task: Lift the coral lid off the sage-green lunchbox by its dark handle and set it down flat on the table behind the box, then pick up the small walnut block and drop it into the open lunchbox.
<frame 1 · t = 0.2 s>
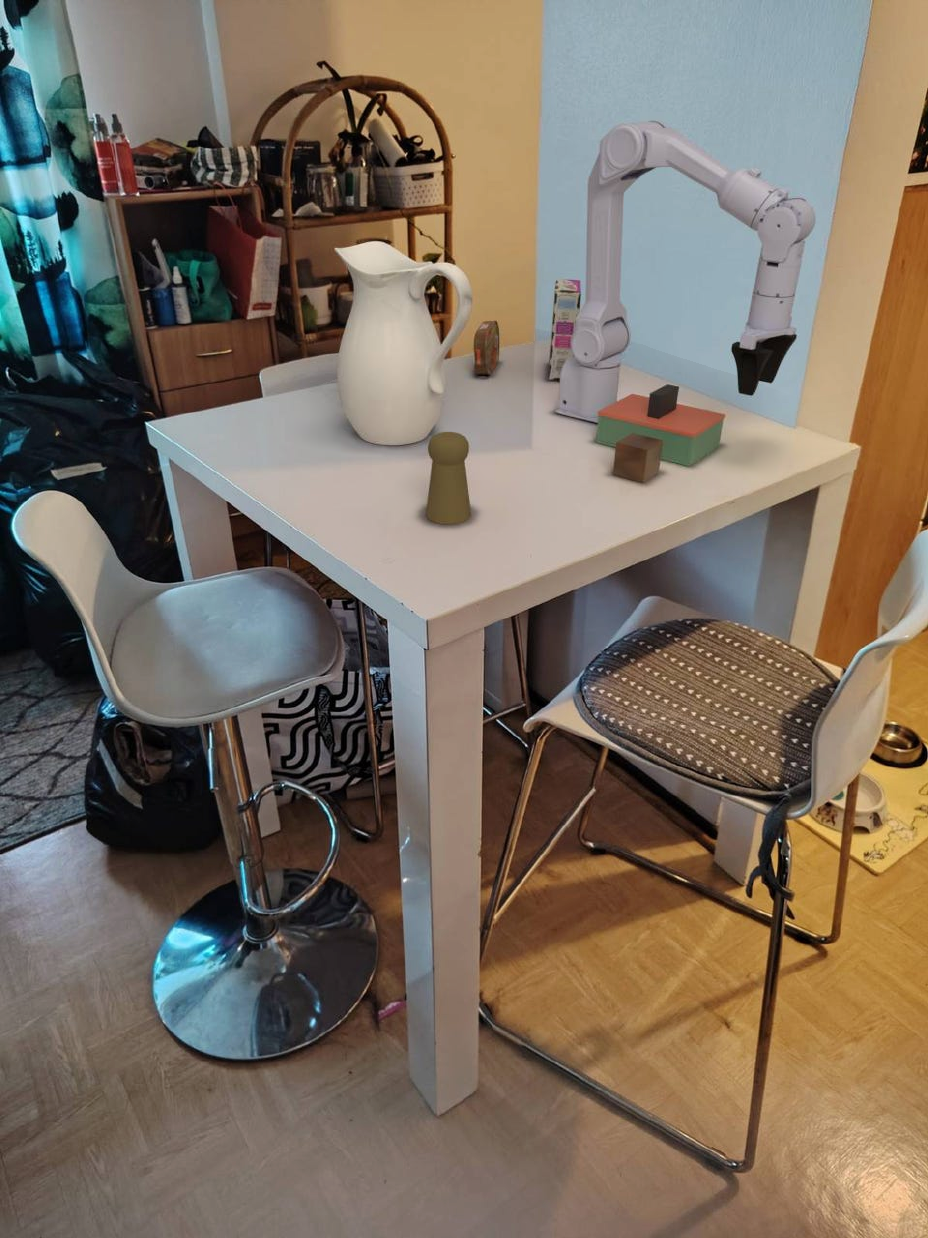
hand: (755, 387, 133), 10 cm above the table, tool pointing down, fingers open, 7 cm apart
candy bar box: (561, 374, 173), on the table
walnut block: (635, 473, 131), on the table
lunchbox: (657, 443, 141), on the table
olive pawn figure: (448, 515, 118), on the table
pitcher: (408, 440, 142), on the table
lunchbox lid: (661, 416, 139), point 4 cm above the table, touching lunchbox
tin: (486, 369, 175), on the table
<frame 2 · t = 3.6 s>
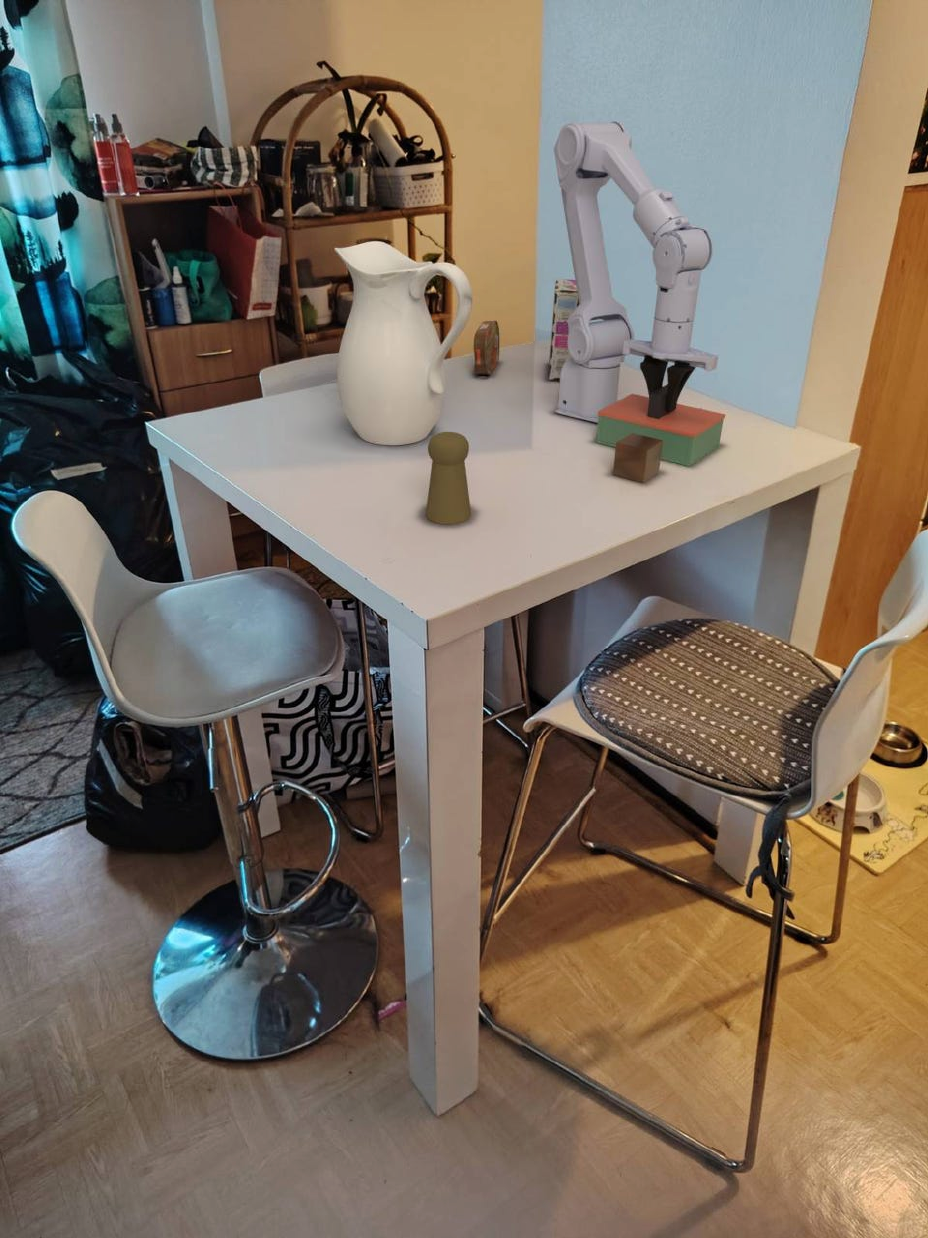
hand: (662, 408, 138), 6 cm above the table, tool pointing down, fingers closed on lunchbox lid, 2 cm apart
lunchbox lid: (661, 416, 139), point 4 cm above the table, touching gripper, lunchbox
everything else where it was.
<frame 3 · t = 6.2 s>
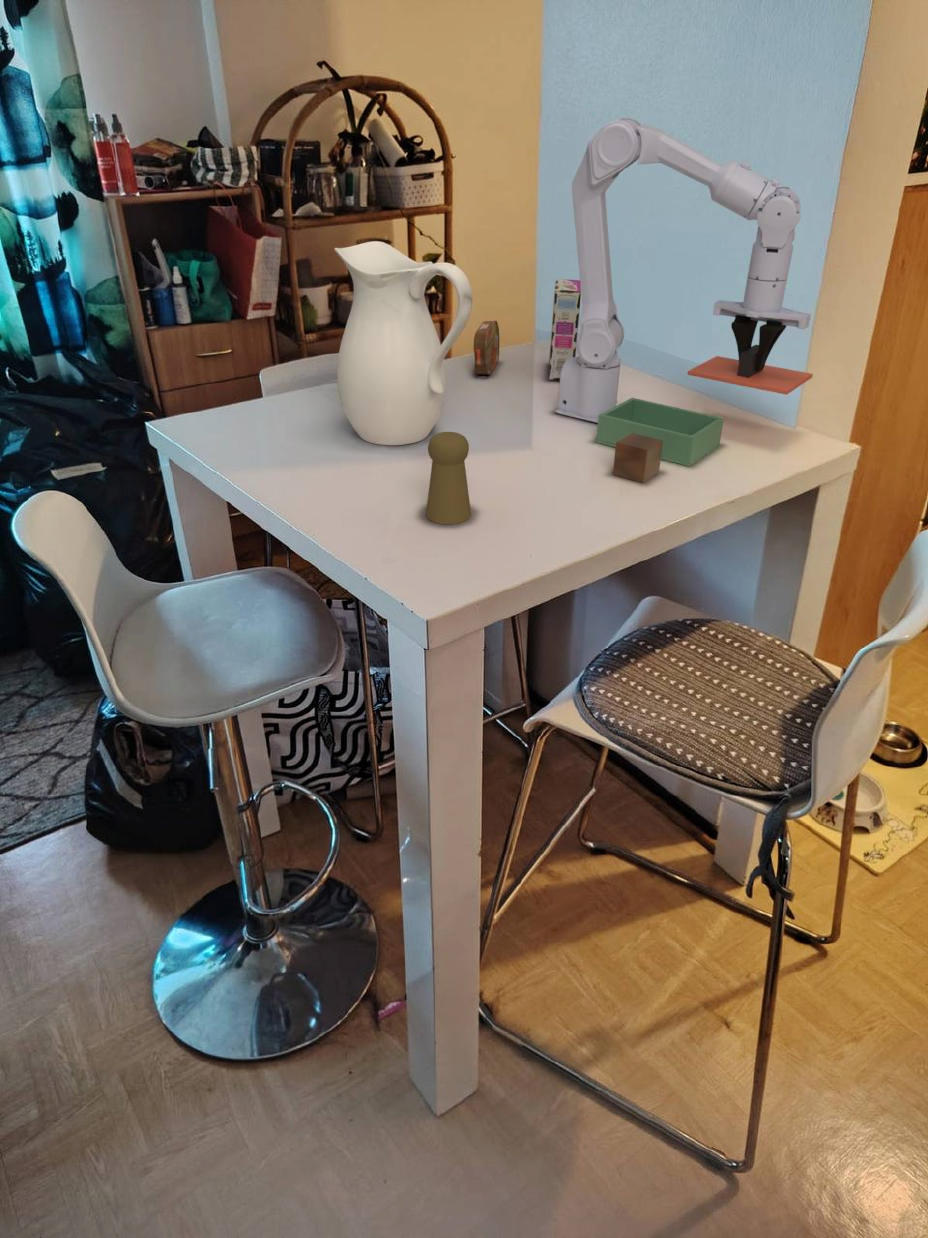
hand: (751, 367, 141), 10 cm above the table, tool pointing down, fingers closed on lunchbox lid
lunchbox lid: (749, 376, 142), point 9 cm above the table, touching gripper
everything else where it was.
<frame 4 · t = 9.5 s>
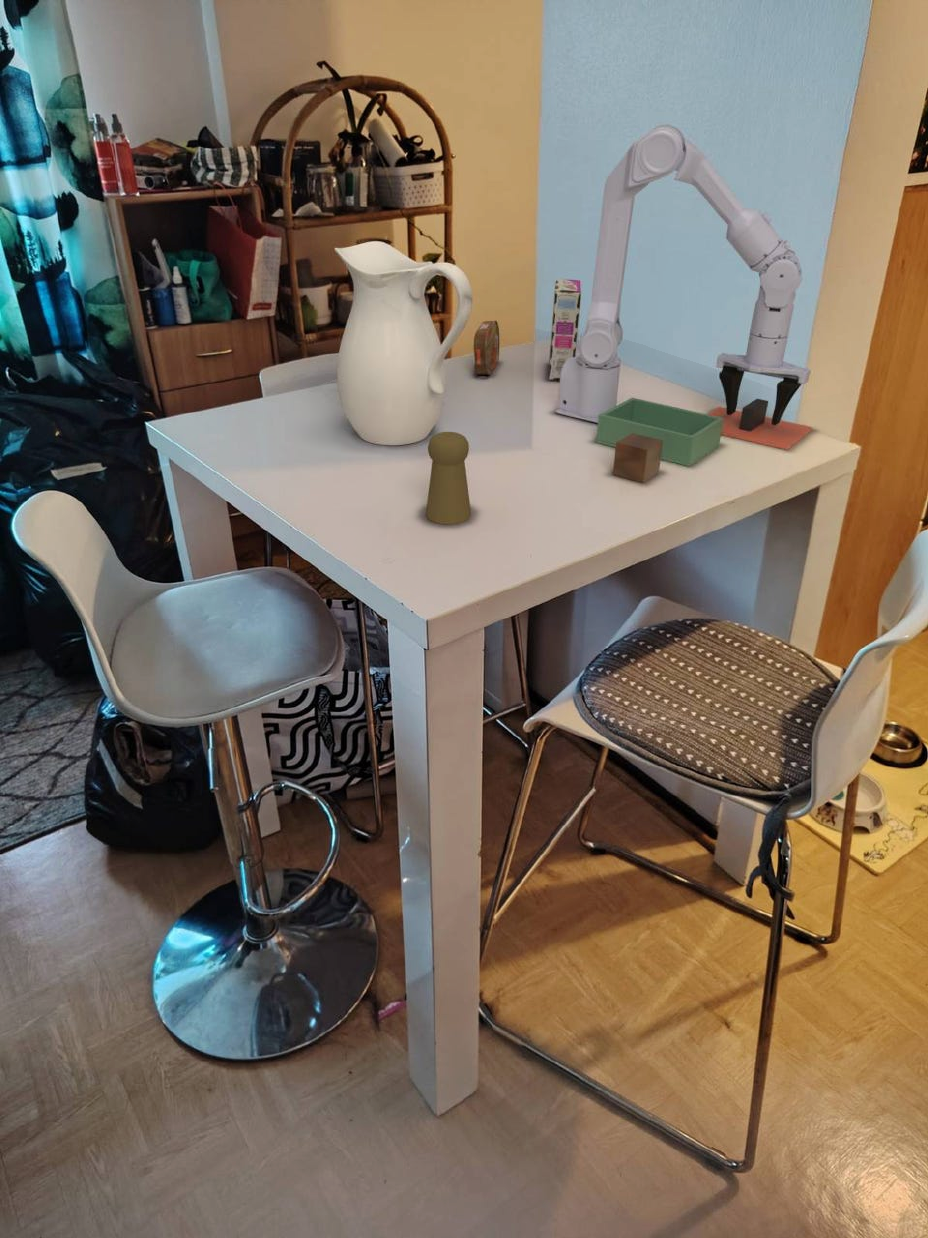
hand: (752, 418, 146), 2 cm above the table, tool pointing down, fingers open, 7 cm apart
lunchbox lid: (751, 428, 147), on the table
everything else where it was.
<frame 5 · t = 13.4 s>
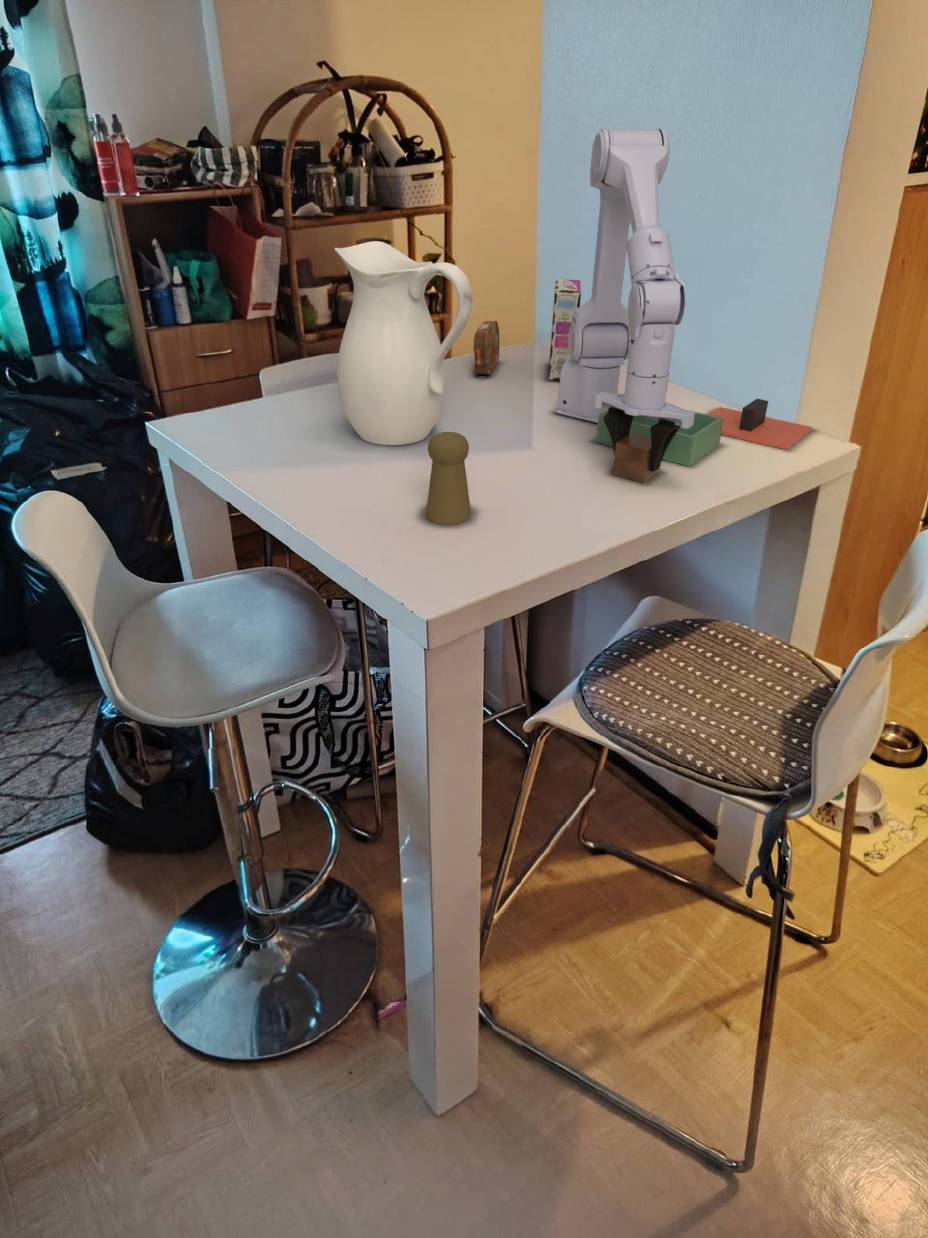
hand: (636, 464, 130), 1 cm above the table, tool pointing down, fingers closed on walnut block, 5 cm apart
walnut block: (635, 473, 131), on the table, touching gripper
everything else where it was.
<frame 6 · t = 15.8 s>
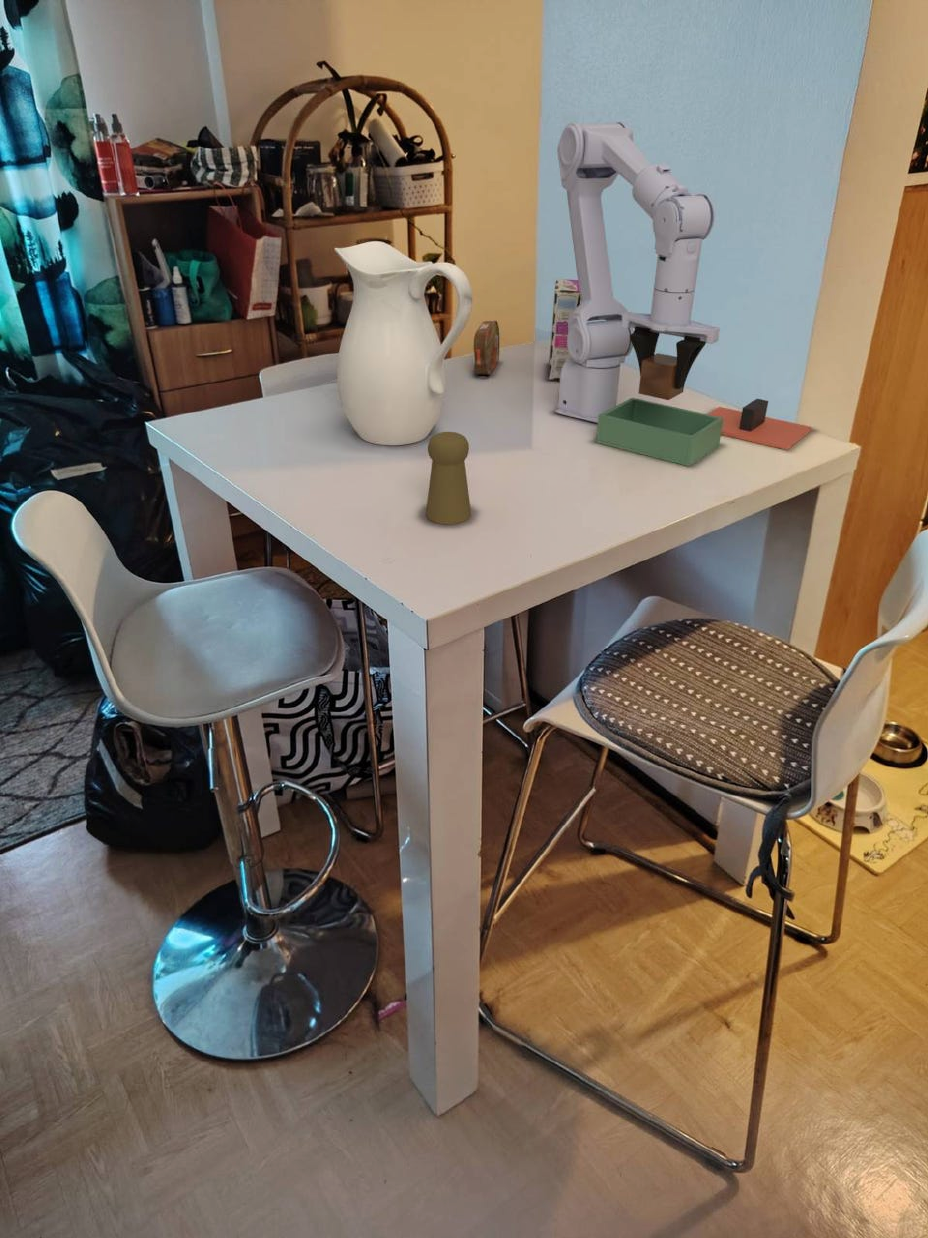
hand: (661, 383, 134), 10 cm above the table, tool pointing down, fingers closed on walnut block, 5 cm apart
walnut block: (660, 392, 134), point 9 cm above the table, touching gripper
everything else where it was.
when the fingers open (5 cm above the table, at t = 18.2 s): walnut block drops 4 cm, resting on lunchbox.
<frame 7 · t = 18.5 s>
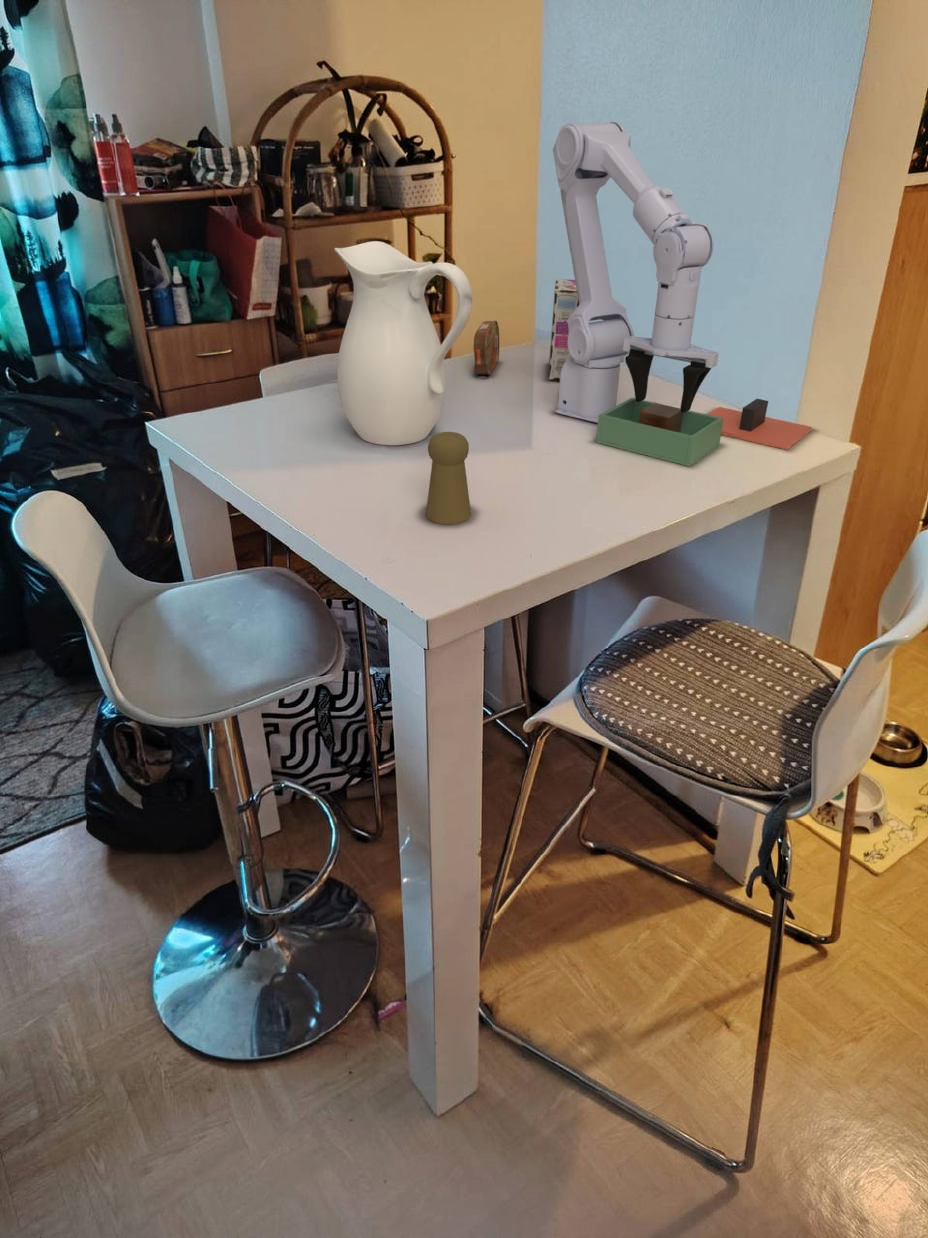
hand: (662, 405, 138), 6 cm above the table, tool pointing down, fingers open, 7 cm apart
walnut block: (657, 440, 141), resting on lunchbox
everything else where it was.
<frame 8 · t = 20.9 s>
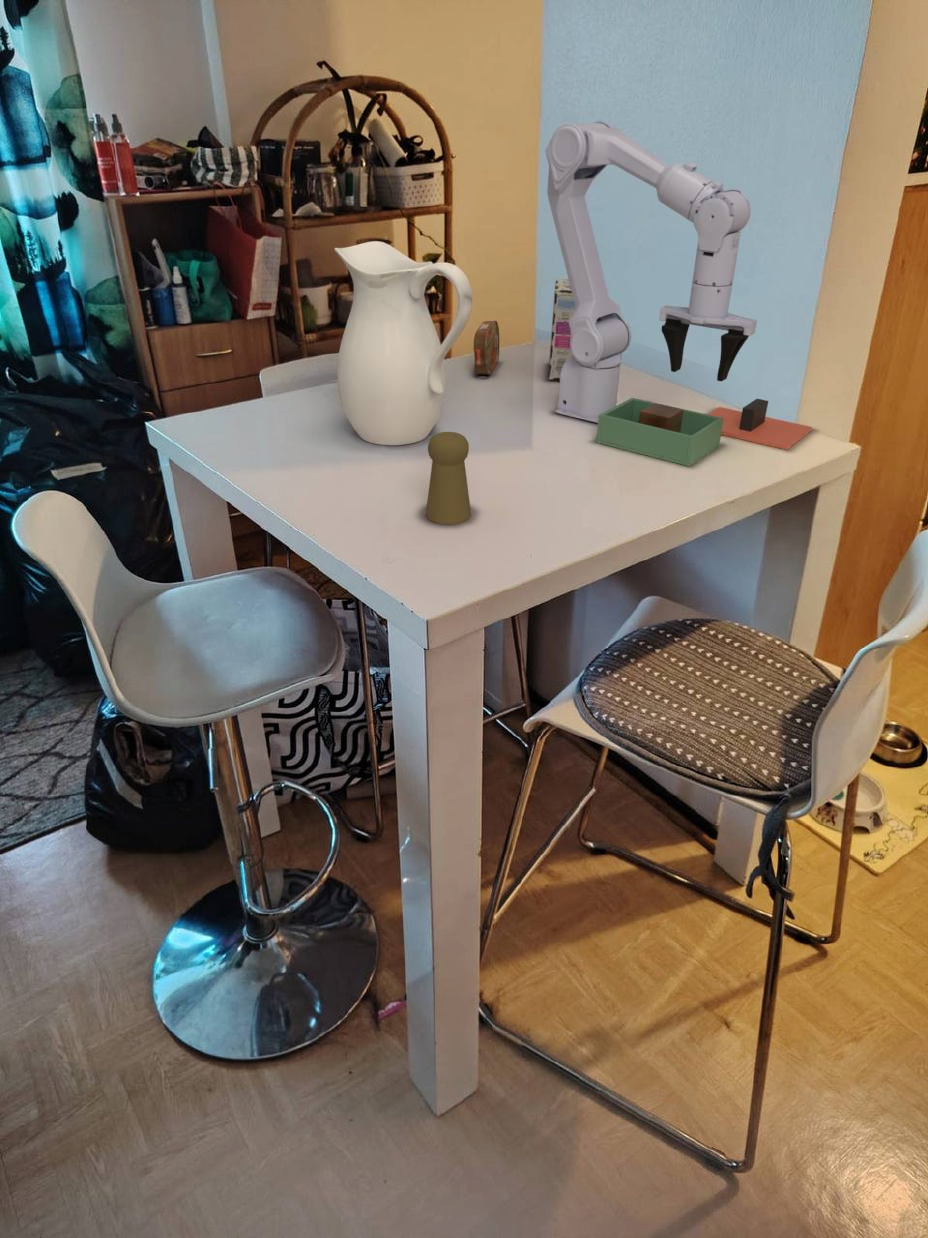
hand: (698, 374, 137), 10 cm above the table, tool pointing down, fingers open, 7 cm apart
nothing on the table moved.
at the end: lunchbox lid inside the target area (0.0 cm from its centre), on the table; lunchbox lid tilted 0°; walnut block inside the target area on the lunchbox (0.0 cm from its centre), point 0.5 cm above the lunchbox's base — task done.
